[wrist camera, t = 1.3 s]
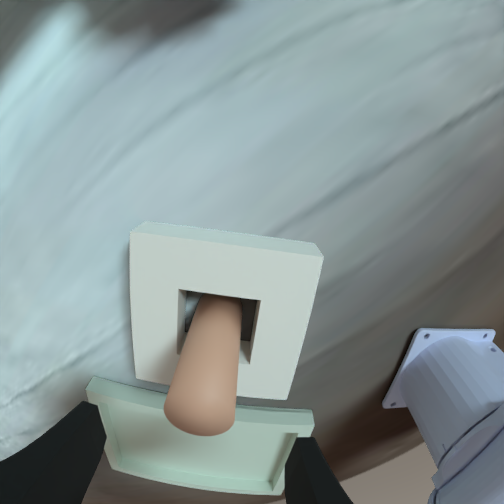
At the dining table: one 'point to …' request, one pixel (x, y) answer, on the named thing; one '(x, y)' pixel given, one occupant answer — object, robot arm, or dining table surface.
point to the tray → (197, 442)
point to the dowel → (207, 369)
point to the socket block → (228, 284)
